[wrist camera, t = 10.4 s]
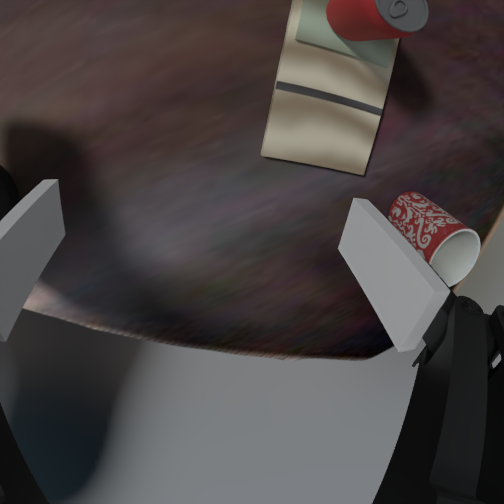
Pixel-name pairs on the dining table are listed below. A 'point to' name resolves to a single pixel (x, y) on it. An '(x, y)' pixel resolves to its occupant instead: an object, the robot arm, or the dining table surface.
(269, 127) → the beige green bent panel
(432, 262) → the mug
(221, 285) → the dining table surface
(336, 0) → the beer can
